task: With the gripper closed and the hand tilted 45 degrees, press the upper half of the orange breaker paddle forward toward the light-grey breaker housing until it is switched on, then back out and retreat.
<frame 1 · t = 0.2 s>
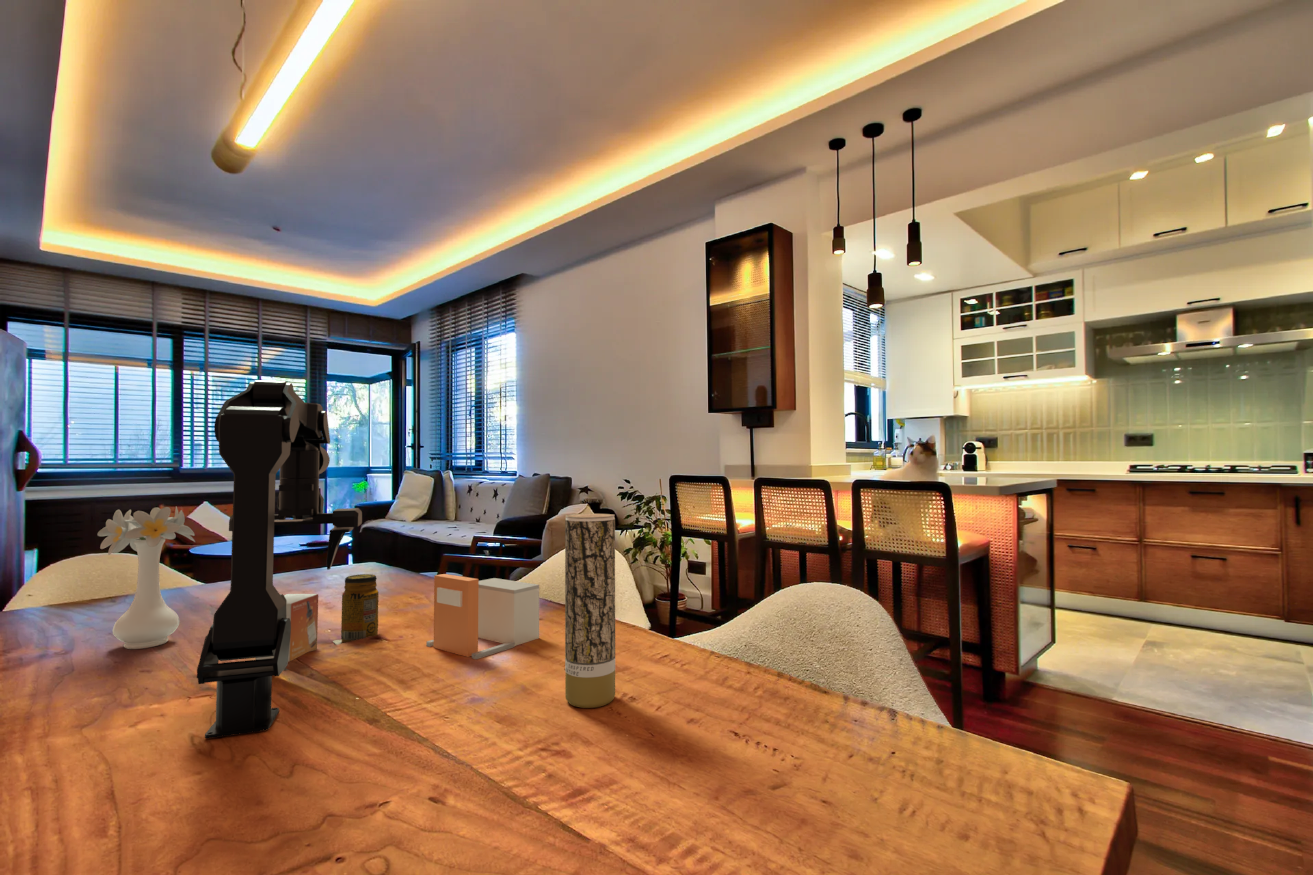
hand: (298, 570, 103), 15 cm above the table, tool pointing down, fingers open, 9 cm apart
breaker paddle: (454, 614, 101), point 7 cm above the table, slide at 0.0 cm
flower vase: (141, 645, 111), on the table
paper tube: (590, 701, 83), on the table
condiment: (359, 644, 111), on the table
breaker panel: (455, 659, 101), on the table
small box: (287, 664, 100), on the table
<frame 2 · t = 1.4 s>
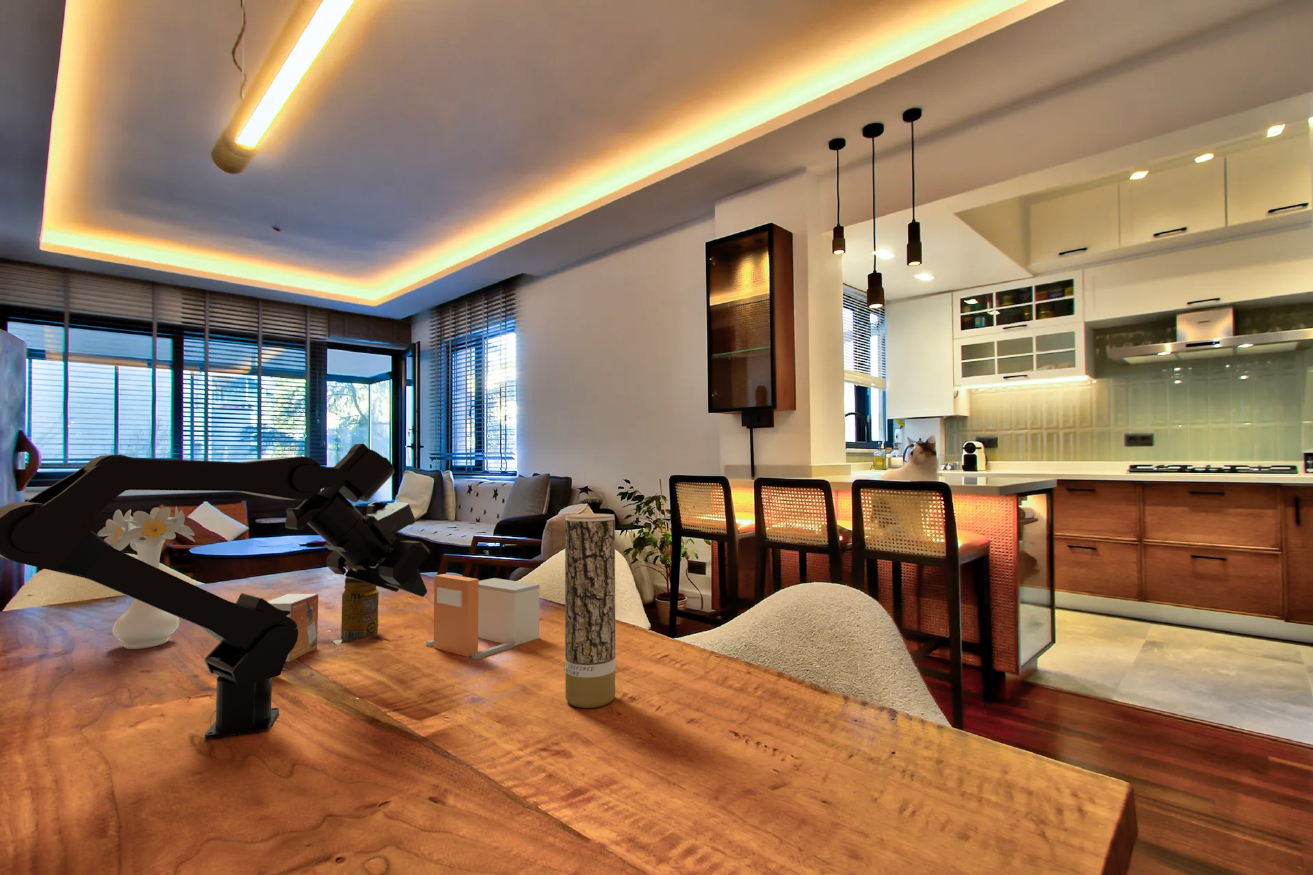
hand: (411, 591, 95), 12 cm above the table, tool tilted 45°, fingers open, 7 cm apart
nothing on the table moved.
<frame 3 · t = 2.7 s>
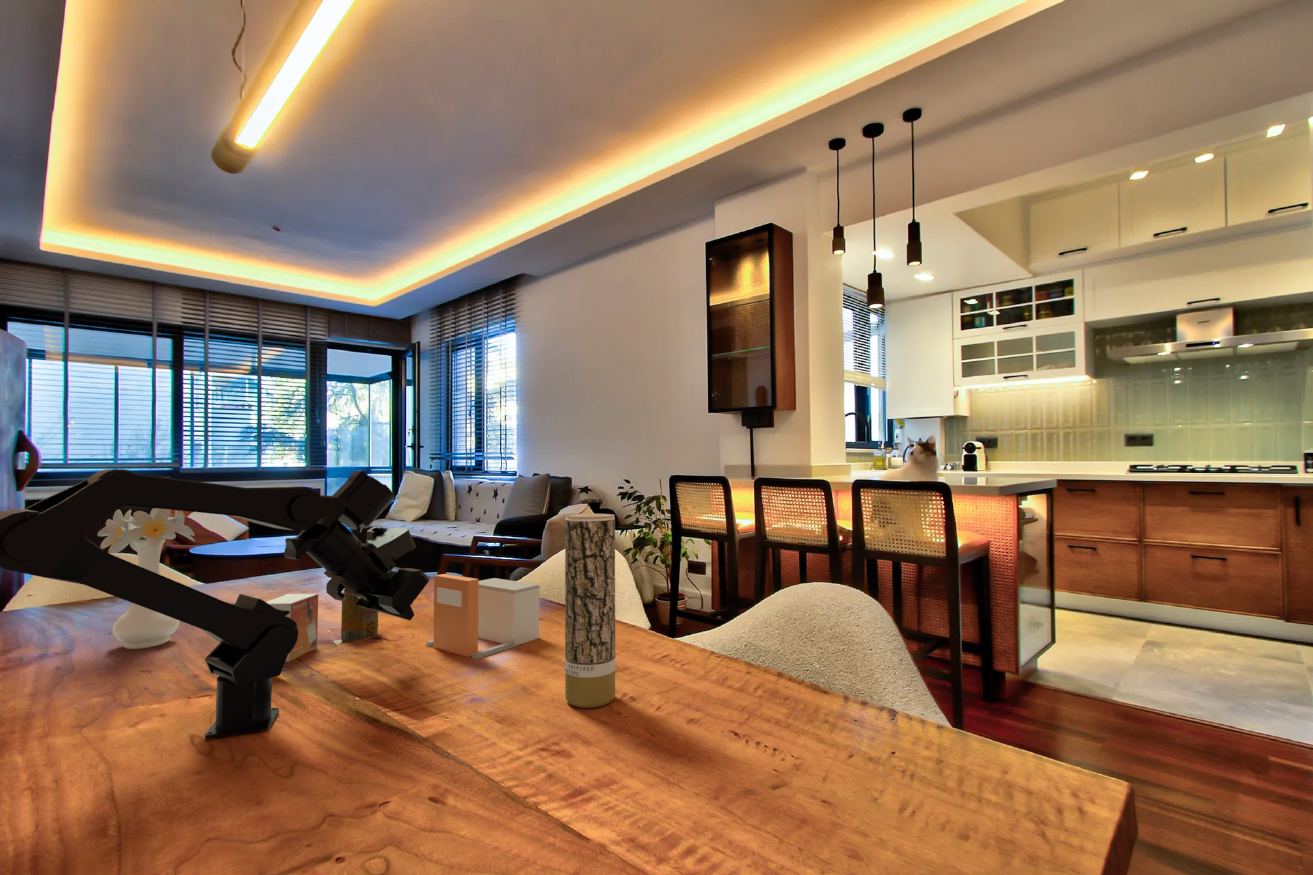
hand: (411, 617, 95), 9 cm above the table, tool tilted 45°, fingers closed
nothing on the table moved.
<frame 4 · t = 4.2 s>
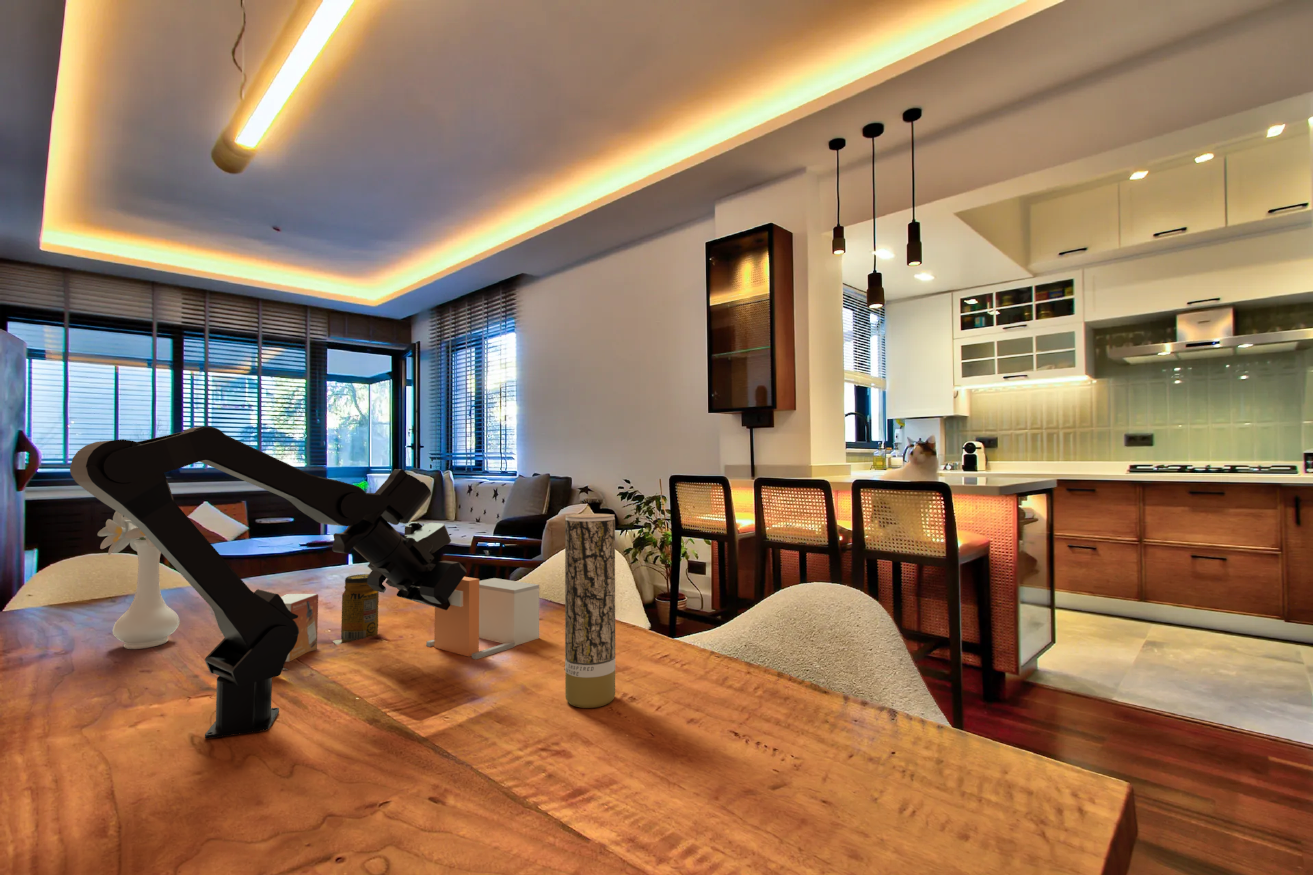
hand: (447, 607, 100), 9 cm above the table, tool tilted 45°, fingers closed, pressing on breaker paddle
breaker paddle: (455, 613, 101), point 7 cm above the table, slide at 0.2 cm, touching gripper
everything else where it was.
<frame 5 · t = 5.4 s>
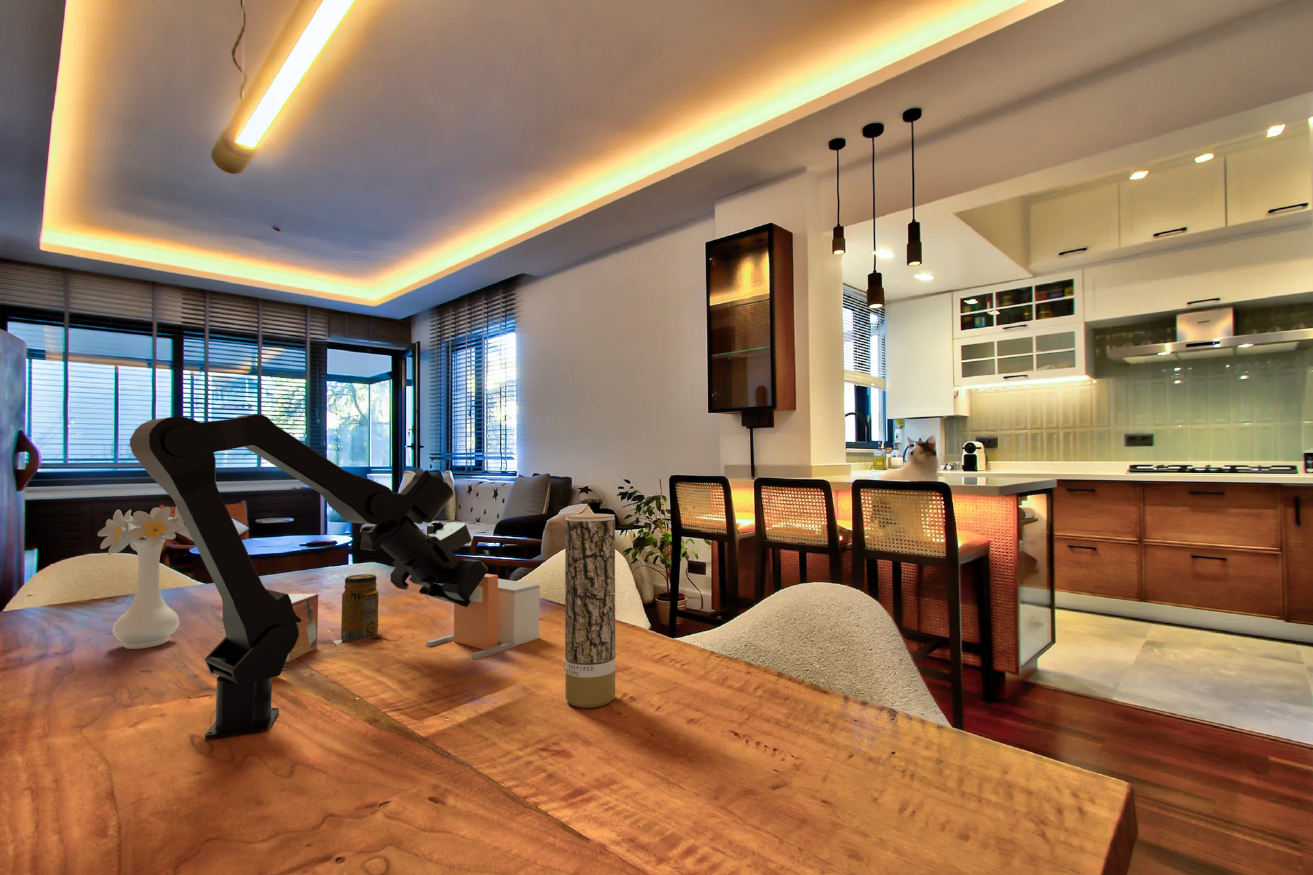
hand: (467, 604, 103), 9 cm above the table, tool tilted 45°, fingers closed, pressing on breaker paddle
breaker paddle: (474, 609, 104), point 8 cm above the table, slide at 4.0 cm, touching gripper
everything else where it was.
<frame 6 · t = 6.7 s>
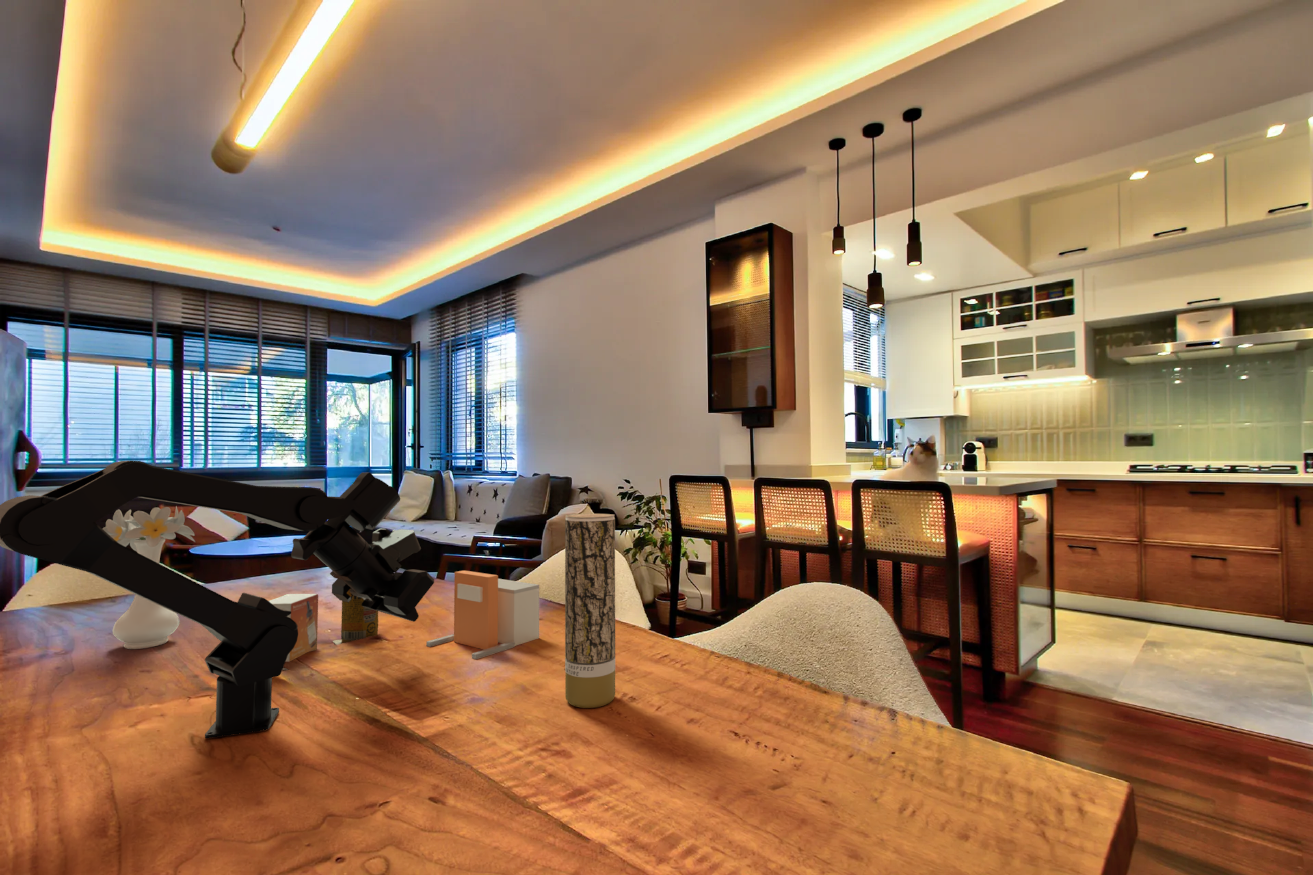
hand: (415, 618, 95), 8 cm above the table, tool tilted 45°, fingers closed
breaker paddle: (474, 609, 104), point 7 cm above the table, slide at 4.0 cm
everything else where it was.
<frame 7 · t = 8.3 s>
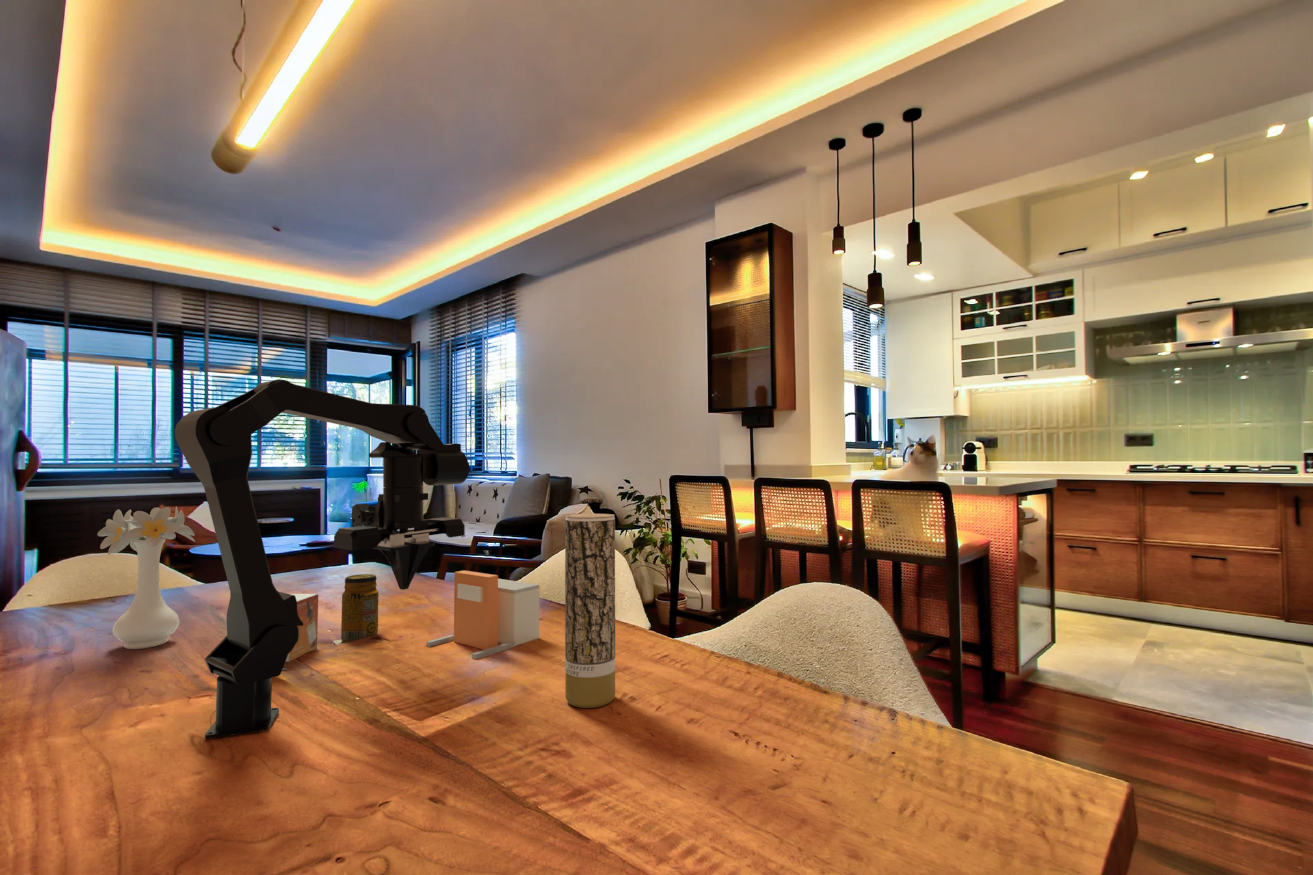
hand: (403, 588, 94), 13 cm above the table, tool pointing down, fingers closed
nothing on the table moved.
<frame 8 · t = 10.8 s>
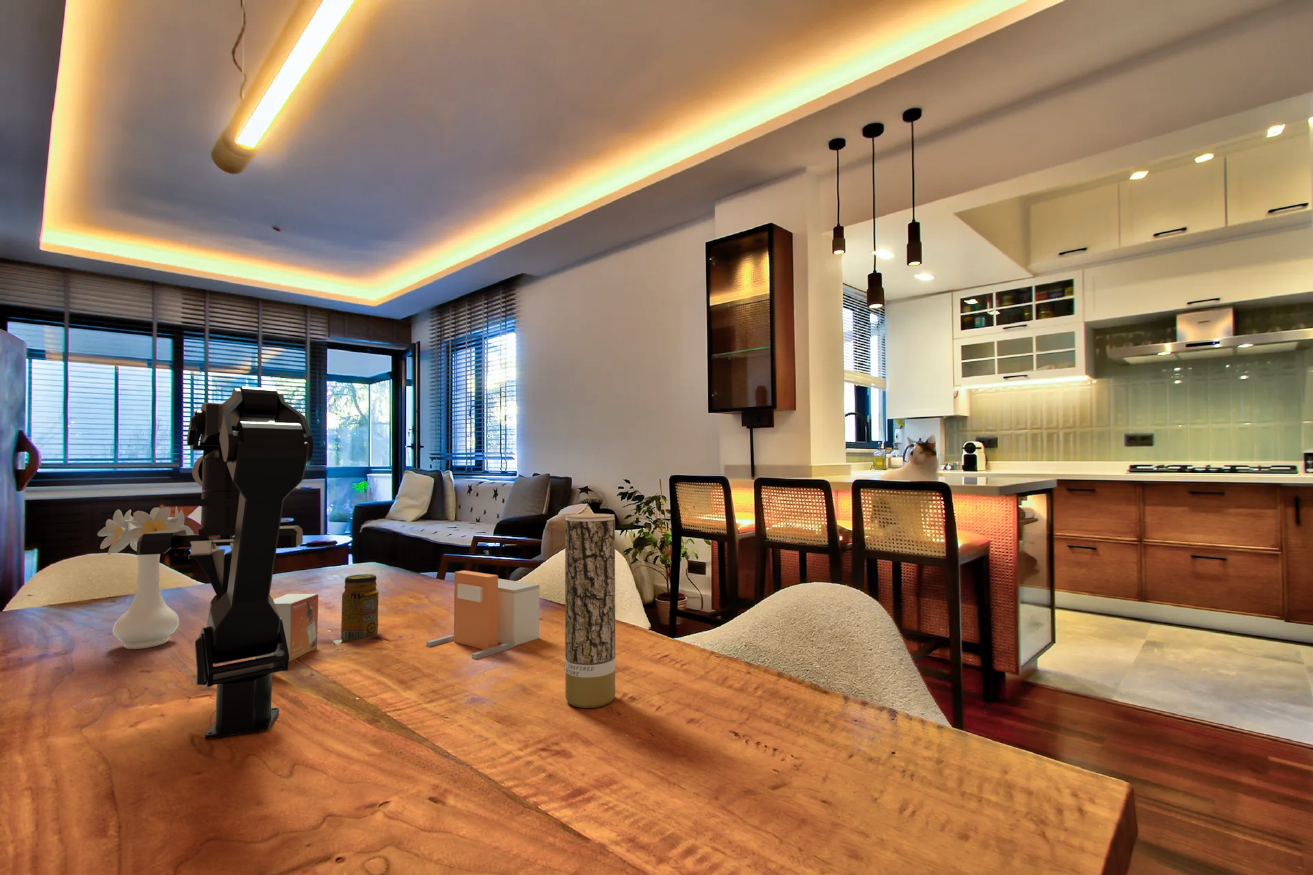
hand: (223, 600, 87), 13 cm above the table, tool pointing down, fingers closed
nothing on the table moved.
at the end: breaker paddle slide at 4.0 cm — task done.
